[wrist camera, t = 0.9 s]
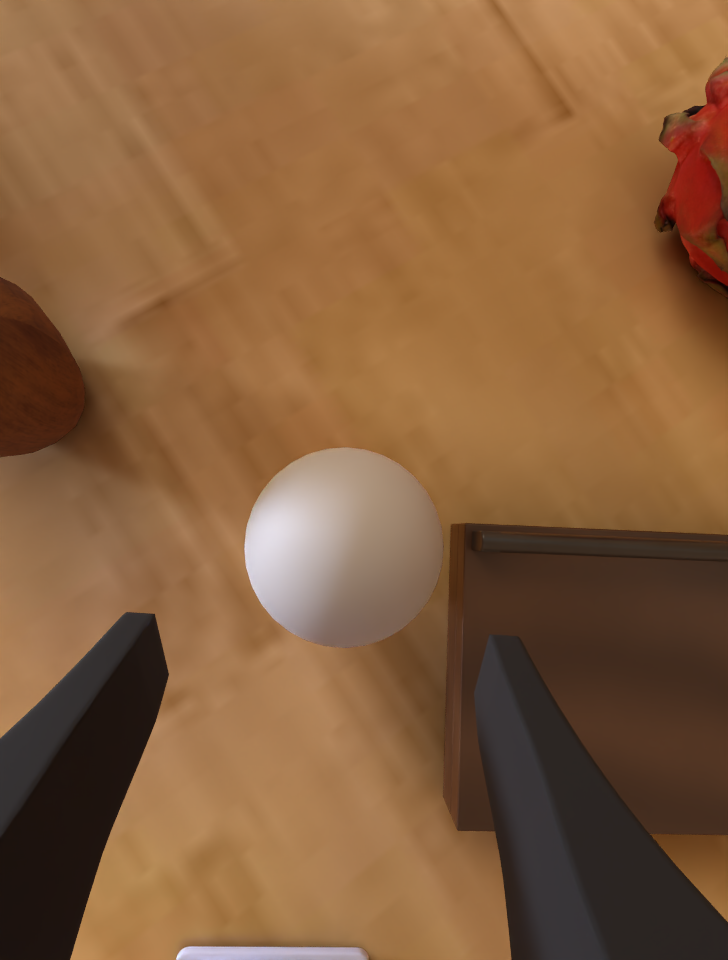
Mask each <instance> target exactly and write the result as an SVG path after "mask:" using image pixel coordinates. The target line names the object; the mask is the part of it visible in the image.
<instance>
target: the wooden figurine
mask: <svg viewBox="0 0 728 960" xmlns="http://www.w3.org/2000/svg"><path fill="white" fill-rule="evenodd" d="M84 399H85V387H84V384H83V380H82V376H81V372H80V369H79V367H78V365H77V364H76V362H75V360H74V358H73V356H72V354H71V352H70V350H69V349H68V347H67V345H66V343H65V341H64V339H63V338H62V336H61V334H60V333H59V331H58V330H57V329H56V327H55V326H54V325H53V324H52V322H51V321H50V320H49V318H48V317H47V316H46V315H45V313H44V312H43V311H42V309H41V308H40V307H39V306H38V304H37V303H36V302H35V301H34V299H33V298H32V297H31V296H30V295H29V294H27V293H26V292H25V291H23V290H22V289H21V288H20V287H18V286H17V285H15V284H13V283H11V282H9V281H7V280H5V279H3V278H1V277H0V457H4V456H14V455H22V454H28V453H33V452H36V451H38V450H40V449H42V448H45V447H47V446H49V445H52V444H54V443H56V442H57V441H58V440H60V439H61V438H62V437H63V436H65V435H66V434H67V433H68V432H69V431H71V430H72V429H73V428H74V427H75V426H76V425H77V423H78V421H79V418H80V416H81V414H82V412H83V410H84Z"/></svg>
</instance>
